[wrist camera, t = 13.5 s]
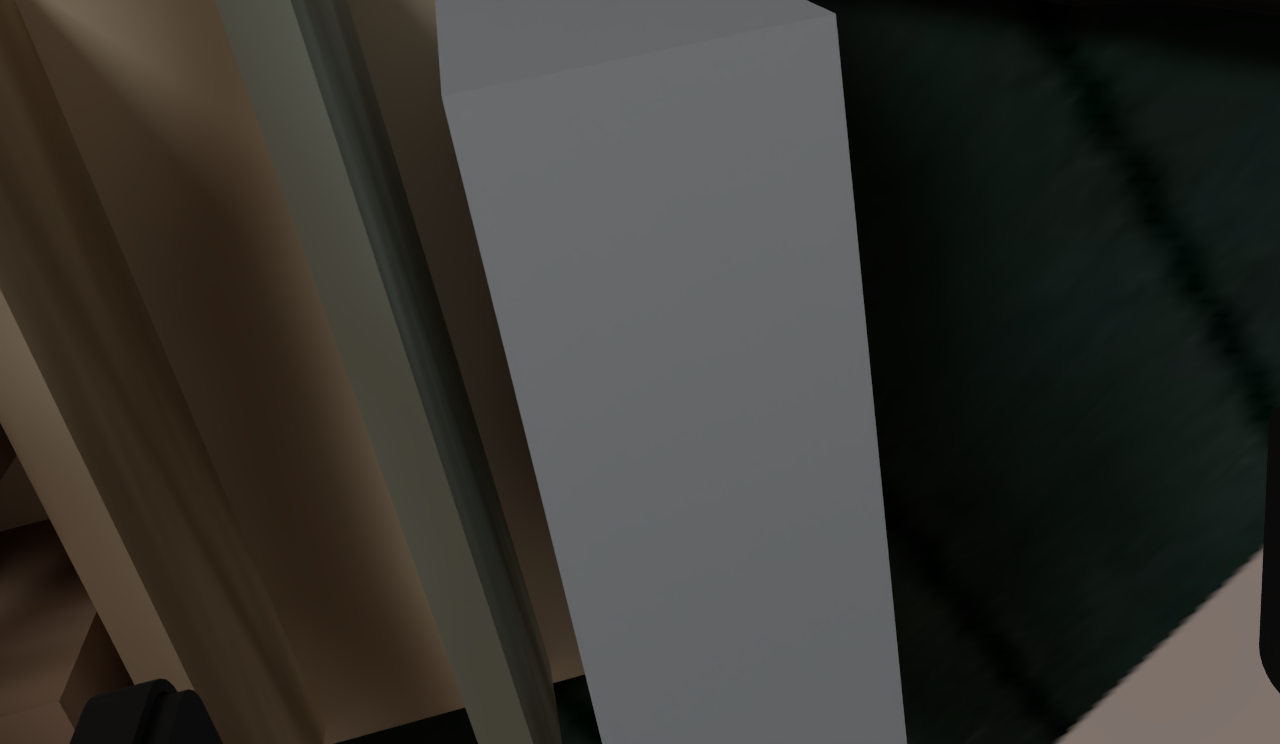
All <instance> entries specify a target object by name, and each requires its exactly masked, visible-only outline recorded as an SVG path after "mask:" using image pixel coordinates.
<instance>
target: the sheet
mask: <svg viewBox="0 0 1280 744" xmlns="http://www.w3.org/2000/svg"><path fill="white" fill-rule="evenodd" d="M435 7H436V22H437V37H438V51H439V66H440V80H441V95H442V100H443V104H444V109H445V113H446V117H447V121H448V125H449V129H450V133H451V137H452V141H453V145H454V149H455V153H456V157H457V161H458V165H459V169H460V173H461V177H462V181H463V185H464V189H465V193H466V197H467V201H468V205H469V209H470V213H471V217H472V221H473V225H474V229H475V233H476V237H477V241H478V245H479V249H480V253H481V257H482V261H483V265H484V269H485V273H486V277H487V281H488V285H489V290H490V294H491V298H492V302H493V306H494V310H495V314H496V318H497V322H498V326H499V330H500V334H501V338H502V342H503V346H504V350H505V354H506V358H507V362H508V366H509V370H510V374H511V378H512V382H513V386H514V390H515V394H516V398H517V402H518V406H519V410H520V414H521V418H522V422H523V426H524V430H525V434H526V438H527V442H528V446H529V450H530V454H531V458H532V462H533V466H534V470H535V475H536V479H537V483H538V487H539V491H540V495H541V499H542V503H543V507H544V511H545V515H546V519H547V523H548V527H549V531H550V535H551V539H552V543H553V547H554V551H555V555H556V559H557V563H558V567H559V571H560V575H561V579H562V583H563V587H564V591H565V595H566V599H567V603H568V607H569V611H570V615H571V619H572V623H573V627H574V631H575V635H576V639H577V643H578V647H579V651H580V656H581V660H582V664H583V668H584V672H585V676H586V680H587V684H588V688H589V692H590V696H591V700H592V704H593V708H594V712H595V716H596V720H597V724H598V728H599V732H600V736H601V740H602V744H907V739H906V729H905V719H904V708H903V698H902V688H901V678H900V668H899V657H898V647H897V637H896V627H895V616H894V606H893V596H892V586H891V575H890V565H889V555H888V545H887V534H886V524H885V514H884V504H883V493H882V483H881V473H880V463H879V453H878V442H877V432H876V422H875V412H874V401H873V391H872V381H871V371H870V360H869V350H868V340H867V330H866V319H865V309H864V299H863V289H862V278H861V268H860V258H859V248H858V237H857V227H856V217H855V207H854V197H853V186H852V176H851V166H850V156H849V145H848V135H847V125H846V115H845V104H844V94H843V84H842V74H841V63H840V53H839V43H838V33H837V22H836V14H835V13H833V12H831V11H829V10H827V9H824V8H822V7H820V6H818V5H816V4H813V3H811V2H809V1H807V0H435Z"/></svg>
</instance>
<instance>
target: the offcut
mask: <svg viewBox="0 0 1280 744" xmlns="http://www.w3.org/2000/svg"><path fill="white" fill-rule="evenodd" d="M132 685H134V683H133V681H132V679H131V677H130V675H129V673H128V671H127V669H126V667H125V665H124V663H123V661H122V659H121V657H120V655H119V653H118V651H117V649H116V648H115V646H114V644H113V642H112V640H111V638H110V636H109V634H108V632H107V630H106V628H105V626H104V624H103V622H102V620H101V618H100V616H99V614H98V612H97V610H96V608H95V607H94V605H93V603H92V601H91V599H90V597H89V595H88V593H87V591H86V589H85V587H84V585H83V583H82V581H81V579H80V577H79V575H78V573H77V571H76V569H75V567H74V566H73V564H72V562H71V560H70V558H69V556H68V554H67V552H66V550H65V548H64V546H63V544H62V542H61V540H60V538H59V536H58V534H57V532H56V530H55V528H54V526H53V525H52V523H51V521H50V519H47V520H43V521H39V522H35V523H31V524H27V525H24V526H20V527H16V528H12V529H8V530H4V531H1V532H0V744H69V743H70V741H71V738H72V736H73V733H74V731H75V728H76V726H77V723H78V721H79V718H80V716H81V713H82V711H83V708H84V707H85V705H86V703H87V702H88V700H89V699H90V698H92V697H93V696H95V695H97V694H101V693H105V692H109V691H113V690H117V689H121V688H125V687H128V686H132Z"/></svg>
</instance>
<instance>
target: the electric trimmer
mask: <svg viewBox="0 0 1280 744" xmlns="http://www.w3.org/2000/svg"><path fill="white" fill-rule="evenodd" d="M1040 1H1046V2H1053V3H1059V4H1065V5H1074V6H1086V7H1094V6H1101V5H1109V4H1117V3H1125V2H1138V3H1170V4H1186V5H1195V6H1203V7H1211V8H1220V9H1228V10H1237V11H1245V12H1253V13H1262V14H1270V15H1278V16H1280V0H1040Z"/></svg>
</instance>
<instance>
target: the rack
mask: <svg viewBox="0 0 1280 744" xmlns="http://www.w3.org/2000/svg"><path fill="white" fill-rule="evenodd" d="M0 423H1V425H2V427H3V429H4V431H5V433H6V435H7V437H8V439H9V441H10V443H11V445H12V446H13V448H14V450H15V452H16V454H17V456H16V457H15V459H14V460H13V462H12V463H11V465H10V466H9V468H8V470H7V471H6V473H5V474H4V476H3V477H2V479H1V480H0V532H1V531H4V530H8V529H12V528H16V527H20V526H24V525H27V524H31V523H35V522H39V521H43V520H47V519H50V521H51V523H52V525H53V526H54V528H55V530H56V532H57V534H58V536H59V538H60V540H61V542H62V544H63V546H64V548H65V550H66V552H67V554H68V556H69V558H70V560H71V562H72V564H73V566H74V567H75V569H76V571H77V573H78V575H79V577H80V579H81V581H82V583H83V585H84V587H85V589H86V591H87V593H88V595H89V597H90V599H91V601H92V603H93V605H94V607H95V608H96V610H97V612H98V614H99V616H100V618H101V620H102V622H103V624H104V626H105V628H106V630H107V632H108V634H109V636H110V638H111V640H112V642H113V644H114V646H115V648H116V649H117V651H118V653H119V655H120V657H121V659H122V661H123V663H124V665H125V667H126V669H127V671H128V673H129V675H130V677H131V679H132V681H133V683H134V685H136V684H140V683H144V682H148V681H152V680H155V679H159V678H161V679H167V680H168V681H169V682H170V683H171V684H173V685H174V687H175V688H176V690H177V692H180V691H184V690H187V689H190V690H194V691H195V692H196V693H197V694H198V695H199V697H200V698H201V700H202V701H203V703H204V705H205V707H206V709H207V711H208V713H209V716H210V718H211V720H212V722H213V724H214V726H215V728H216V730H217V732H218V734H219V736H220V738H221V740H222V742H223V744H334V743H338V742H342V741H345V740H349V739H352V738H356V737H360V736H363V735H367V734H371V733H374V732H378V731H381V730H385V729H389V728H392V727H396V726H399V725H403V724H407V723H410V722H414V721H418V720H421V719H425V718H428V717H432V716H436V715H439V714H443V713H446V712H450V711H454V710H457V709H461V708H466V711H467V714H468V716H469V719H470V722H471V725H472V728H473V731H474V733H475V736H476V739H477V742H478V744H562V739H561V733H560V726H559V720H558V713H557V706H556V700H555V693H554V687H553V683H555V682H559V681H562V680H566V679H569V678H573V677H577V676H580V675H584V674H585V672H584V668H583V664H582V660H581V656H580V651H579V647H578V643H577V639H576V635H575V631H574V627H573V623H572V619H571V615H570V611H569V607H568V603H567V599H566V595H565V591H564V587H563V583H562V579H561V575H560V571H559V567H558V563H557V559H556V555H555V551H554V547H553V543H552V539H551V535H550V531H549V527H548V523H547V519H546V515H545V511H544V507H543V503H542V499H541V495H540V491H539V487H538V483H537V479H536V475H535V470H534V466H533V462H532V458H531V454H530V450H529V446H528V442H527V438H526V434H525V430H524V426H523V422H522V418H521V414H520V410H519V406H518V402H517V398H516V394H515V390H514V386H513V382H512V378H511V374H510V370H509V366H508V362H507V358H506V354H505V350H504V346H503V342H502V338H501V334H500V330H499V326H498V322H497V318H496V314H495V310H494V306H493V302H492V298H491V294H490V290H489V285H488V281H487V277H486V273H485V269H484V265H483V261H482V257H481V253H480V249H479V245H478V241H477V237H476V233H475V229H474V225H473V221H472V217H471V213H470V209H469V205H468V201H467V197H466V193H465V189H464V185H463V181H462V177H461V173H460V169H459V165H458V161H457V157H456V153H455V149H454V145H453V141H452V137H451V133H450V129H449V125H448V121H447V117H446V113H445V109H444V104H443V100H442V95H441V80H440V66H439V51H438V37H437V22H436V7H435V0H0Z"/></svg>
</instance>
